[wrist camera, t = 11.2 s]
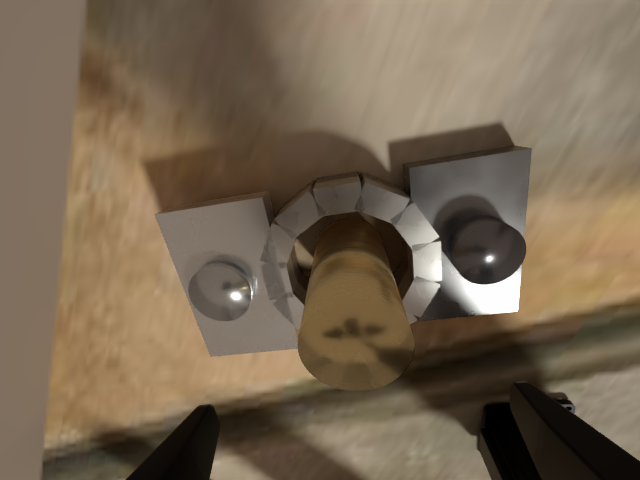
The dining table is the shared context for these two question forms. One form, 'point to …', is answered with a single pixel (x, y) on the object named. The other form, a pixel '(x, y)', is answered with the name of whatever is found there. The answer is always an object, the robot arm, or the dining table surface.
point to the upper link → (280, 259)
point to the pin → (353, 312)
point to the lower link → (467, 227)
